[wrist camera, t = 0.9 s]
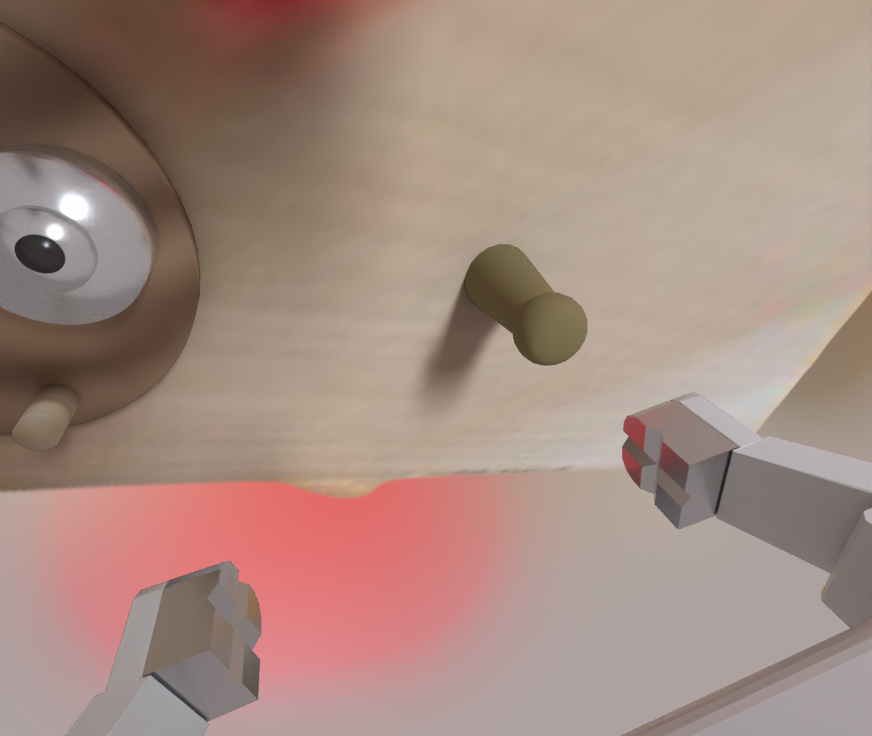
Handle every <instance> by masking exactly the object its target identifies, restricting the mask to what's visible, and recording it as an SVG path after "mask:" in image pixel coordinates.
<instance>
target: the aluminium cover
mask: <svg viewBox="0 0 872 736" xmlns="http://www.w3.org/2000/svg"><path fill="white" fill-rule="evenodd" d="M158 252H159V235H158V229H157V226H156V223H155V219H154V217H153V215H152V213H151V211H150V209H149V207H148V205H147V204H146V202H145V201H144V199H143V198H142V197H141V195H140V194H139V193H138V191H137V190H136V189H135V188H134V187H133V186H132V185H131V184H130V183H129V182H128V181H127V180H126V179H125V178H124V177H122V176H121V175H120V174H119V173H118V172H116V171H115V170H113V169H112V168H110V167H109V166H108V165H106V164H104V163H103V162H101V161H99V160H97V159H95V158H93V157H91V156H89V155H87V154H85V153H82V152H79V151H76V150H74V149H71V148H67V147H63V146H58V145H53V144H44V143H26V144H18V145H13V146H9V147H6V148H3V149H0V307H1V308H3V309H5V310H7V311H9V312H12V313H14V314H17V315H20V316H22V317H25V318H29V319H33V320H36V321H41V322H46V323H52V324H63V325H78V324H88V323H93V322H98V321H101V320H104V319H107V318H110V317H112V316H114V315H116V314H118V313H120V312H121V311H123V310H124V309H126V308H127V307H128V306H129V305H130V304H131V303H133V302H134V300H135V299H136V298H137V296H138V295H139V294H140V292H141V290H142V288H143V286H144V284H145V282H146V281H147V279H148V277H149V275H150V273H151V271H152V269H153V267H154V266H155V263H156V260H157V257H158Z"/></svg>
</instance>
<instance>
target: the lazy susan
mask: <svg viewBox="0 0 872 736" xmlns="http://www.w3.org/2000/svg"><path fill="white" fill-rule="evenodd" d="M26 143H44V144H53V145H58V146H63V147H67V148H71V149H74V150H76V151H79V152H82V153H85V154H87V155H89V156H91V157H93V158H95V159H97V160H99V161H101V162H103V163H104V164H106V165H108V166H109V167H110V168H112V169H113V170H115V171H116V172H118V173H119V174H120V175H121V176H122V177H124V178H125V179H126V180H127V181H128V182H129V183H130V184H131V185H132V186H133V187H134V188H135V189H136V190H137V191H138V193H139V194H140V195H141V197H142V198H143V199H144V201H145V202H146V204H147V205H148V207H149V209H150V211H151V213H152V215H153V217H154V219H155V223H156V226H157V229H158V235H159V252H158V257H157V260H156V263H155V266H154V267H153V269H152V271H151V273H150V275H149V277H148V279H147V281H146V282H145V284H144V286H143V288H142V290H141V292H140V294H139V295H138V296H137V298H136V299H135V300H134V302H133V303H131V304H130V305H129V306H128V307H127V308H126V309H124V310H123V311H121V312H120V313H118V314H116V315H114V316H112V317H110V318H107V319H104V320H101V321H98V322H93V323H88V324H78V325H63V324H52V323H46V322H41V321H36V320H33V319H29V318H25V317H22V316H20V315H17V314H14V313H12V312H9V311H7V310H5V309H3V308H1V307H0V435H12V437H13V439H14V440H15V442H16V443H18V444H19V445H21V446H22V447H25V448H27V449H31V450H47V449H51V448H53V447H55V446H56V445H57V444H58V443H59V441H60V440H61V438H62V436H63V434H64V432H65V430H66V428H67V427H69V426H73V425H77V424H81V423H84V422H87V421H90V420H93V419H96V418H99V417H101V416H104V415H107V414H109V413H111V412H113V411H115V410H117V409H119V408H121V407H123V406H125V405H127V404H129V403H130V402H132V401H133V400H135V399H136V398H138V397H139V396H141V395H142V394H144V393H145V392H146V391H148V390H149V389H150V388H151V387H152V386H153V385H155V384H156V383H157V382H158V381H159V380H160V379H161V378H162V377H163V376H164V375H165V374H166V372H167V371H168V370H169V369H170V368H171V367H172V365H173V364H174V363H175V361H176V360H177V358H178V356H179V355H180V353H181V351H182V350H183V348H184V346H185V344H186V342H187V339H188V336H189V334H190V331H191V329H192V326H193V323H194V319H195V315H196V310H197V305H198V300H199V295H200V267H199V258H198V250H197V246H196V242H195V238H194V235H193V231H192V227H191V224H190V221H189V219H188V216H187V214H186V211H185V209H184V207H183V204H182V202H181V199H180V197H179V195H178V194H177V192H176V190H175V188H174V186H173V185H172V183H171V181H170V179H169V177H168V176H167V174H166V172H165V170H164V169H163V167H162V166H161V165H160V163H159V162H158V160H157V159H156V158H155V156H154V155H153V153H152V152H151V151H150V149H149V148H148V146H147V145H146V144H145V142H144V141H143V140H142V139H141V137H140V136H139V135H138V134H137V133H136V132H135V131H134V129H133V128H132V127H131V126H130V125H129V124H128V123H127V122H126V120H125V119H124V118H123V117H122V116H121V115H120V114H119V112H118V111H117V110H115V109H114V108H113V107H112V106H111V105H110V104H109V103H108V102H107V101H106V100H105V99H104V98H103V97H102V96H101V95H99V94H98V93H97V92H96V91H95V90H94V89H93V88H92V87H91V86H90V85H89V84H88V83H87V82H85V81H84V80H83V79H81V78H80V77H79V76H78V75H76V74H75V73H74V72H73V71H71V70H70V69H69V68H67V67H66V66H65V65H64V64H62V63H61V62H60V61H58V60H57V59H56V58H55V57H53V56H52V55H51V54H49V53H48V52H46V51H45V50H43V49H41V48H40V47H38V46H37V45H35V44H34V43H32V42H31V41H29V40H28V39H26V38H24V37H23V36H21V35H20V34H18V33H17V32H15V31H14V30H12V29H10V28H9V27H7V26H5V25H3V24H1V23H0V149H3V148H6V147H9V146H13V145H18V144H26Z"/></svg>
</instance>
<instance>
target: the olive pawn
mask: <svg viewBox="0 0 872 736" xmlns="http://www.w3.org/2000/svg"><path fill="white" fill-rule="evenodd" d="M465 288H466V294H467V295H468V297H469V299H470V300H471V302H472V303H474V304H475V305H476V306H478V307H479V308H480V309H481V310H483V311H484V312H485V313H487V314H488V315H489V316H491V317H492V318H493V319H494V320H496V321H497V322H498V323H500V324H501V325H502V326H503V327H505V328H506V329H507V330H509V331H510V332H511V333H513V339H514V342H515V344H516V346H517V348H518V350H519V352H520V353H521V354H522V355H523V356H524V357H525V358H527V359H528V360H529V361H531V362H533V363H535V364H540V365H556V364H559V363H562V362H564V361H566V360H567V359H569V358H570V357H572V356H573V355H574V354H575V353H576V352H577V351H578V350H579V349H580V347H581V346H582V344H583V343H584V341H585V338H586V335H587V318H586V315H585V313H584V311H583V309H582V307H581V306H580V305H579V304H578V303H577V302H576V301H575V300H573V299H572V298H571V297H568V296H566V295H563V294H560V293H555V292H554V291H553V290H552V288H551V287H550V286H549V285H548V283H547V282H546V281H545V279H544V278H543V277H542V276H541V274H540V273H539V272H538V271H537V269H536V268H535V267H534V265H533V264H532V263H531V262H530V260H529V259H528V258H527V256H526V255H525V254H524V253H523V252H522V251H521V250H520V249H519V248H517V247H514V246H512V245H502V244H499V245H496V246H493V247H490V248H487V249H486V250H485V251H483V252H482V253H480V254H479V255H478V256H477V257H476V258H475V259H474V261H473V262H472V263H471V265H470V267H469V269H468V271H467V273H466V279H465Z"/></svg>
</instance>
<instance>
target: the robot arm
mask: <svg viewBox="0 0 872 736" xmlns="http://www.w3.org/2000/svg"><path fill="white" fill-rule="evenodd" d="M623 431H624V432H625V433H626V434H627V435H628V436H629V437H628V439H627V440H626V442H625V443H624V445H623V446H622V459H623V462H624V465H625V468H626V470H627V472H628V474H629V475H630V477H631V478H632V480H633V481H634V482H635V483H636V484H637V485H638V486H639V488H640V489H643V490H646V491H648V492H651V493H653V494H654V501H655V505H656V506H657V507H658V509H660V510H661V512H662V513H663V514H664V515H665V516H666V517H667V518H668V519H669V520H670V522H672V524H673V525H674V526H675V527H676V528H677V529H681V528H684V527H687V526H689V525H692V524H695V523H697V522H700V521H703V520H705V519H708V518H711V517H713V516H716V515H717V517H716V518H718V519H720V520H722V521H724V522H726V523H728V524H730V525H732V526H734V527H736V528H738V529H741V530H742V531H744V532H746V533H749V534H751V535H753V536H755V537H757V538H759V539H761V540H763V541H765V542H767V543H769V544H771V545H773V546H775V547H777V548H779V549H782V550H784V551H786V552H788V553H790V554H792V555H794V556H796V557H798V558H800V559H802V560H804V561H806V562H808V563H810V564H812V565H815V566H817V567H819V568H821V569H823V570H825V571H827V572H829V573H831V574H830V576H829V578H828V580H827V582H826V584H825V586H824V588H823V590H822V592H821V598H822V602H823V603H824V604H825V605H826V606H827V607H829V608H830V609H831V610H832V611H833V612H834V613H835V614H836V615H837V616H838V617H839V618H840V619H841V620H842V621H843V622H844V623H846V624H847V626H849V627H850V629H848V630H846V631H844V632H842V633H840V634H838V635H835V636H833V637H831V638H829V639H827V640H825V641H823V642H820V643H818V644H816V645H814V646H812V647H810V648H807V649H805V650H803V651H801V652H799V653H797V654H795V655H792V656H790V657H788V658H786V659H784V660H782V661H780V662H777V663H775V664H773V665H771V666H769V667H767V668H765V669H762V670H760V671H758V672H756V673H754V674H752V675H750V676H747V677H745V678H743V679H741V680H739V681H737V682H735V683H733V684H730V685H728V686H726V687H724V688H722V689H720V690H717V691H715V692H713V693H711V694H709V695H707V696H705V697H703V698H700V699H698V700H696V701H694V702H692V703H690V704H687V705H686V706H683V707H682V708H679V709H677V710H675V711H673V712H670V713H668V714H666V715H664V716H662V717H660V718H658V719H656V720H653V721H651V722H649V723H647V724H645V725H642V726H640V727H638V728H636V729H634V730H632V731H630V732H627V733H625V734H623V735H621V736H872V463H869V462H865V461H862V460H858V459H854V458H850V457H847V456H842V455H839V454H835V453H831V452H828V451H824V450H820V449H816V448H812V447H809V446H805V445H801V444H797V443H793V442H790V441H786V440H782V439H778V438H774V437H771V436H769V437H766V438H761V437H760V436H759V435H757V434H756V433H754V432H753V431H752V430H750V429H749V428H747V427H746V426H744V425H743V424H742V423H740V422H739V421H737V420H736V419H735V418H733V417H732V416H730V415H729V414H727V413H726V412H725V411H723V410H722V409H720V408H719V407H718V406H716V405H715V404H713V403H712V402H710V401H709V400H708V399H706V398H705V397H703V396H702V395H700V394H697V393H694V392H692V393H689V394H686V395H683V396H681V397H678V398H675V399H672V400H670V401H666V402H664V403H661V404H658V405H656V406H653V407H650V408H648V409H645V410H642V411H640V412H637V413H634V414H632V415H629V416H627V417H626V419H625V421H624V427H623ZM238 575H239V570H237V568H236V567H235V566H234V564H232V562H231V561H227V562H223V563H220V564H217V565H214V566H211V567H208V568H205V569H202V570H199V571H196V572H193V573H190V574H187V575H184V576H181V577H178V578H175V579H172V580H169V581H167V582H164V583H161V584H158V585H155V586H152V587H149V588H146V589H143V590H141V591H140V592H139V593H138V594H137V596H136V597H135V598H134V600H133V603H132V606H131V609H130V612H129V616H128V619H127V622H126V626H125V629H124V632H123V635H122V638H121V642H120V645H119V648H118V651H117V655H116V658H115V661H114V664H113V668H112V671H111V674H110V678H109V681H108V684H107V687H106V691H105V692H104V693H101V694H99V695H96V696H95V697H94V698H93V700H92V701H91V702H90V704H89V705H88V706H87V707H86V709H85V710H84V711H83V713H82V714H81V715H80V716H79V718H78V719H77V720H76V722H75V723H74V724H73V726H72V727H71V728H70V729H69V731H68V732H67V733H66V734H65V736H204V735H205V732H206V730H207V728H208V726H209V723H208V721H210V720H212V719H215V718H217V717H220V716H222V715H224V714H226V713H229V712H231V711H233V710H236V709H238V708H240V707H242V706H245V705H247V704H249V703H252V702H254V701H256V700H258V690H259V669H260V659H259V658H258V657H257V655H256V654H255V653H254V652H253V651H252V649H253V648H254V646H255V644H256V642H257V641H258V639H259V637H260V636H261V613H260V607H259V602H258V599H257V597H256V595H255V592H254V591H253V589H252V588H251V587H250V585H249V584H246V583H242V582H239V581H238Z"/></svg>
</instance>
